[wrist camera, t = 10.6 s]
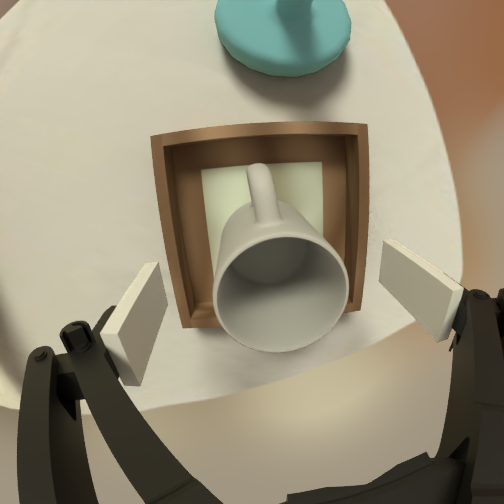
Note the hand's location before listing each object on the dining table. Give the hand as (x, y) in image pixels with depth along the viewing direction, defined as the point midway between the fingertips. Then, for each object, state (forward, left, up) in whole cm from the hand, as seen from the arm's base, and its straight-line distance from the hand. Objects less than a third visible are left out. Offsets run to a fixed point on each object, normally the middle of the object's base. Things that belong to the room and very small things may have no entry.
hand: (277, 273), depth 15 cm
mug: (0, 0, -11) cm, 11 cm away
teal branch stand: (+3, +20, -13) cm, 24 cm away
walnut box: (0, 0, -12) cm, 12 cm away
